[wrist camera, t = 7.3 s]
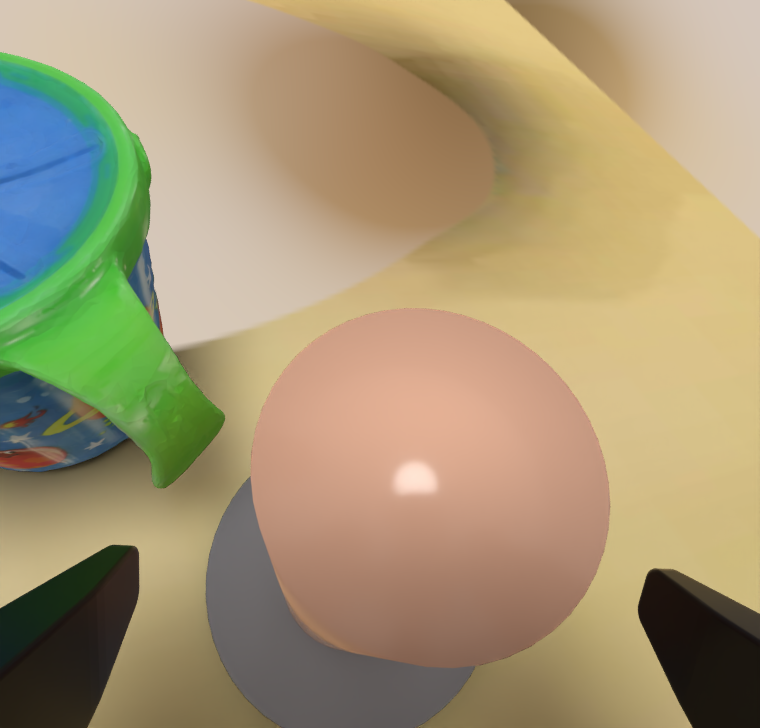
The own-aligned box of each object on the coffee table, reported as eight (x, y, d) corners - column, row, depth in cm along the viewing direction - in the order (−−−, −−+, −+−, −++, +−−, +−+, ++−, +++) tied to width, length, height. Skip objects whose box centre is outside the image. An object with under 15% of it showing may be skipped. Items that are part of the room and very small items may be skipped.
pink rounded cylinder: (449, 610, 17) (682, 559, 7) (310, 681, 16) (333, 759, 5) (389, 476, 19) (497, 277, 9) (261, 527, 17) (206, 359, 7)
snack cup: (-188, 348, 19) (-608, 93, 10) (64, 211, 24) (-73, -42, 15) (71, 646, 16) (-223, 648, 7) (305, 416, 20) (309, 245, 12)
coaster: (498, 748, 16) (505, 752, 15) (175, 734, 15) (170, 737, 14) (483, 449, 21) (488, 444, 20) (239, 424, 20) (238, 418, 19)
